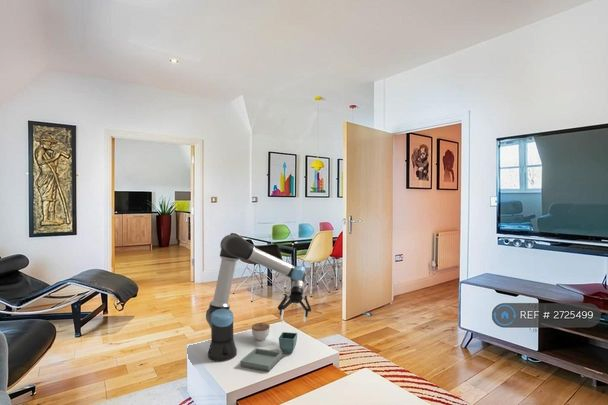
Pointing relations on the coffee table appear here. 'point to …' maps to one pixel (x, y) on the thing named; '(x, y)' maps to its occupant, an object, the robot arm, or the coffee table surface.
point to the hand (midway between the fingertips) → (292, 321)
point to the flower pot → (287, 342)
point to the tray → (261, 359)
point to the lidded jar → (260, 331)
